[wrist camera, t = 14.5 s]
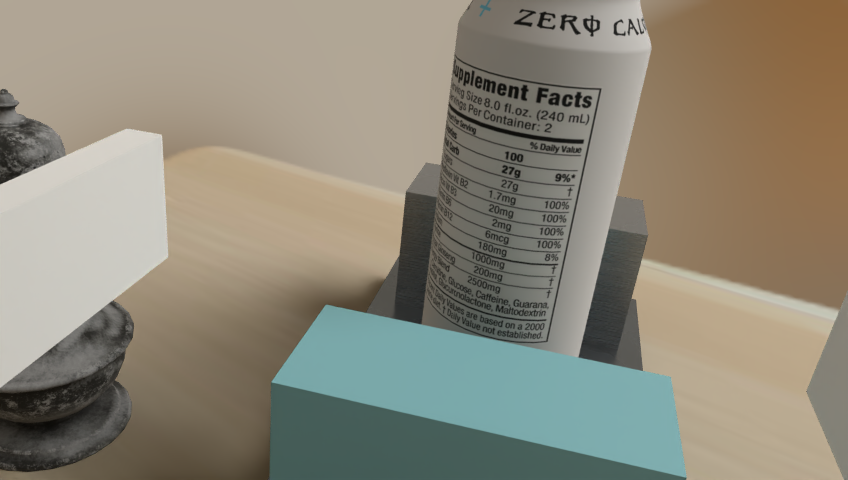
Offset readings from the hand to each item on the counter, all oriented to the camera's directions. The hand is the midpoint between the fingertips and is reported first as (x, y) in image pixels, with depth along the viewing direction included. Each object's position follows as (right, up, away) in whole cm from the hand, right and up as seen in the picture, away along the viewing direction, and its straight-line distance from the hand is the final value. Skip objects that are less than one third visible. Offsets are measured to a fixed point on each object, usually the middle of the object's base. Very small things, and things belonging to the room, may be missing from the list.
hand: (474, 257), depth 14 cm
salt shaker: (-14, -6, +12) cm, 20 cm away
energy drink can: (+2, -5, +15) cm, 16 cm away
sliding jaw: (0, -8, +7) cm, 11 cm away
